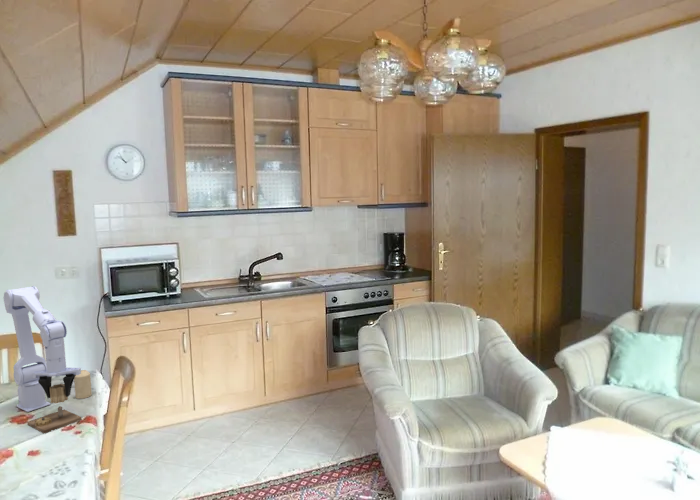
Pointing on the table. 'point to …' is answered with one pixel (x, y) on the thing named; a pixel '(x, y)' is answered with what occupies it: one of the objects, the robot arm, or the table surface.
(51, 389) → the maple gear
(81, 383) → the candle
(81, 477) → the table surface
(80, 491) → the table surface
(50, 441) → the table surface
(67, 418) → the gear board
